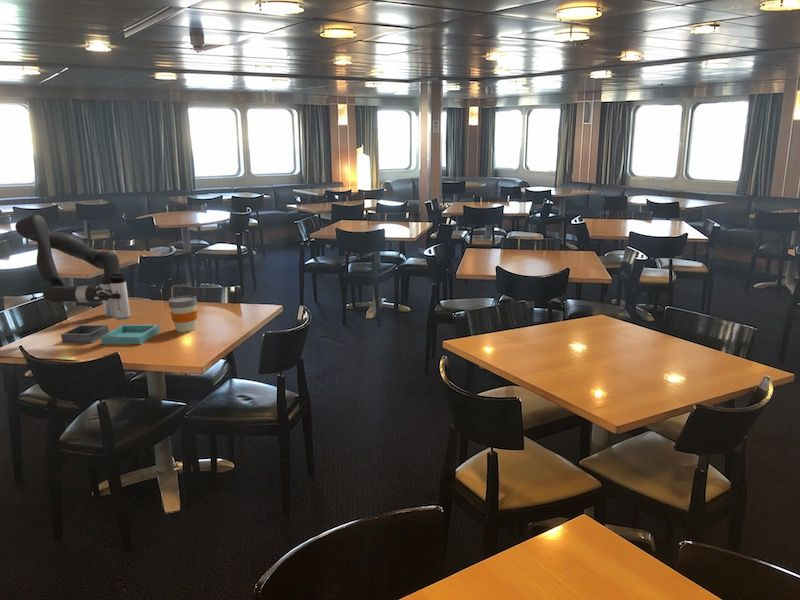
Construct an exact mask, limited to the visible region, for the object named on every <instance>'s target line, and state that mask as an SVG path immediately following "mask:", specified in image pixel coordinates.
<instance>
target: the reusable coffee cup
mask: <svg viewBox="0 0 800 600" xmlns="http://www.w3.org/2000/svg"><path fill="white" fill-rule="evenodd" d="M197 304H198V301H197V296H195V295H181V296H175V297H172V298H169V299H168V307H169V309H170V315H171V320H172V322H173V324H174V327H175V332H177V331H178V332H177V333H181V332H183V333H188V332H187V331H191V332H193V331H192V330H194V329H195V330H197V319H198V308H197ZM195 330H194V331H195Z"/></svg>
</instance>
